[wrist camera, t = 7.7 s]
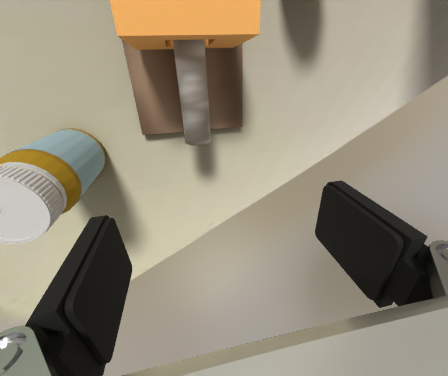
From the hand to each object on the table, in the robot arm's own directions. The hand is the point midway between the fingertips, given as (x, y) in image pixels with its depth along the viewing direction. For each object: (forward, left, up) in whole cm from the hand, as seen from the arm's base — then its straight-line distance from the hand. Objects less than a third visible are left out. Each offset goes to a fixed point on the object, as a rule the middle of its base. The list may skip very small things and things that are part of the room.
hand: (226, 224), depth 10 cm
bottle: (+16, +3, -24) cm, 29 cm away
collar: (0, -11, -22) cm, 24 cm away
